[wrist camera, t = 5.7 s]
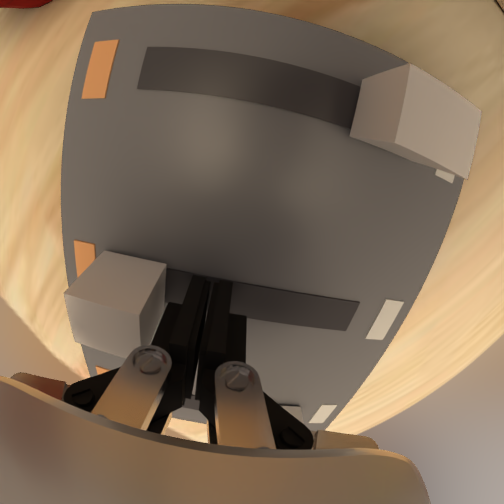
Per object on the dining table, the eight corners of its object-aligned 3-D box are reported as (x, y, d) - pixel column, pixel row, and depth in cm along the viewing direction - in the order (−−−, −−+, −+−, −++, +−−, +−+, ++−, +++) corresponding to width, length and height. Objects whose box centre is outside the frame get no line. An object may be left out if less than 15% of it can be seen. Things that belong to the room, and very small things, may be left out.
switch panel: (115, 26, 9) (91, 11, 6) (449, 107, 10) (479, 109, 8) (107, 373, 19) (96, 396, 16) (318, 408, 20) (323, 432, 18)
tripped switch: (104, 250, 11) (63, 293, 8) (166, 263, 11) (138, 314, 8) (107, 294, 12) (74, 341, 9) (164, 308, 12) (142, 362, 9)
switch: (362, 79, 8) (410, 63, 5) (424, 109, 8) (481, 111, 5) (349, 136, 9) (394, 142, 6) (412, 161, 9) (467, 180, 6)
